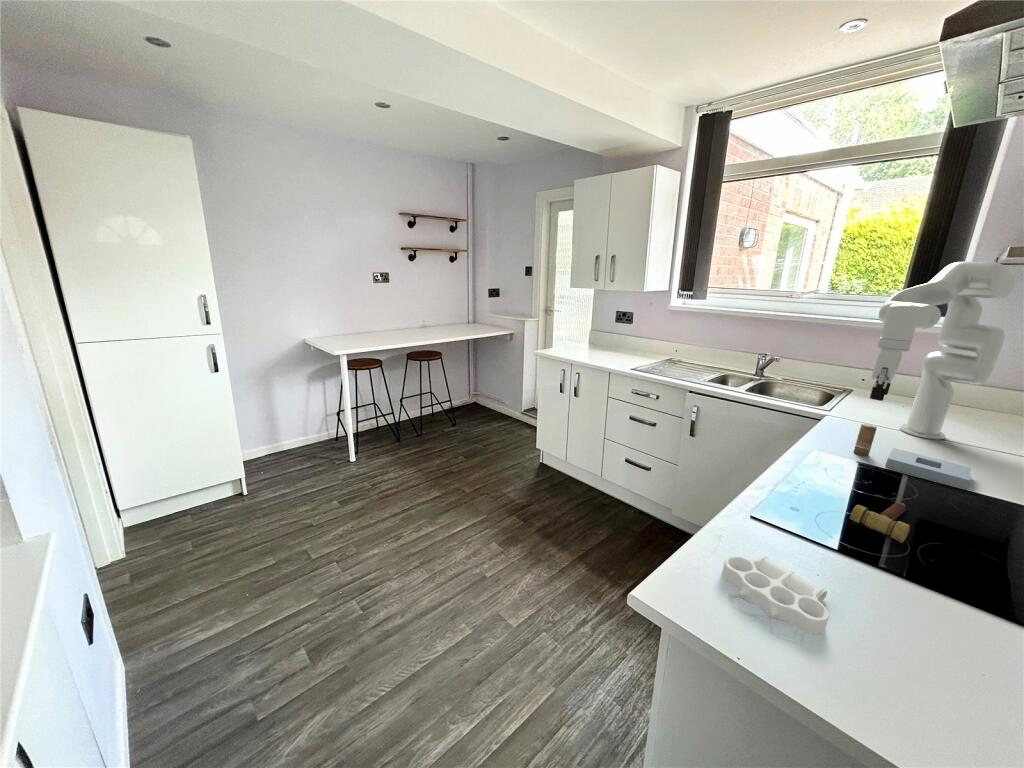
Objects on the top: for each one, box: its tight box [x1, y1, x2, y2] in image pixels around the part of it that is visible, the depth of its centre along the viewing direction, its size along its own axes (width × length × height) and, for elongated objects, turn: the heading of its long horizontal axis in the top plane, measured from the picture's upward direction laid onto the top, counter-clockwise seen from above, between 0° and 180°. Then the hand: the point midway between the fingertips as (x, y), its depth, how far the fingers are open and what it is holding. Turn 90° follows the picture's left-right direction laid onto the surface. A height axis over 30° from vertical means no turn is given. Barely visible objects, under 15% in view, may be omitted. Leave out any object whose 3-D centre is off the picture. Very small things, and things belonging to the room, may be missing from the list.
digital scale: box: [885, 447, 972, 491], centre depth 131 cm, size 12×18×3 cm, turn 43°
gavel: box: [849, 502, 911, 544], centre depth 106 cm, size 21×5×10 cm
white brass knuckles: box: [721, 554, 830, 635], centre depth 80 cm, size 3×18×15 cm
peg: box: [853, 423, 877, 457], centre depth 141 cm, size 4×4×10 cm
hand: (878, 396), depth 136 cm, fingers open, 9 cm apart
